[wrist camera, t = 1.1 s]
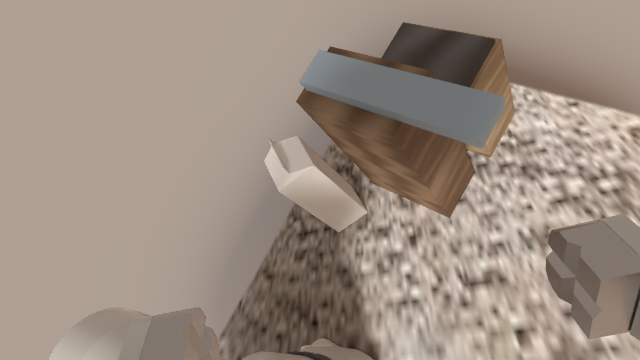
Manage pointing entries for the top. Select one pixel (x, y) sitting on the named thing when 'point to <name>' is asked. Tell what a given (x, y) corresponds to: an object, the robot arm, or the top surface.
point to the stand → (395, 147)
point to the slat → (406, 97)
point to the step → (458, 65)
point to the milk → (312, 183)
